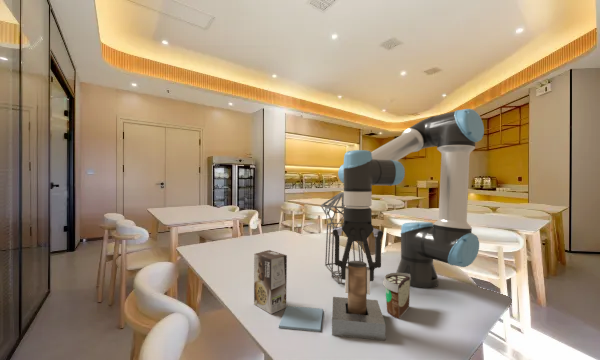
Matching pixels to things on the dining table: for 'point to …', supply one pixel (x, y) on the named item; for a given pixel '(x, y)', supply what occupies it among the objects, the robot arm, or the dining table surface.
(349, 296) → the wooden cylinder
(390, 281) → the food container
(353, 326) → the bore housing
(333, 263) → the geometric lantern
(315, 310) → the light blue square plate
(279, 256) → the coffee box
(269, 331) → the dining table surface
